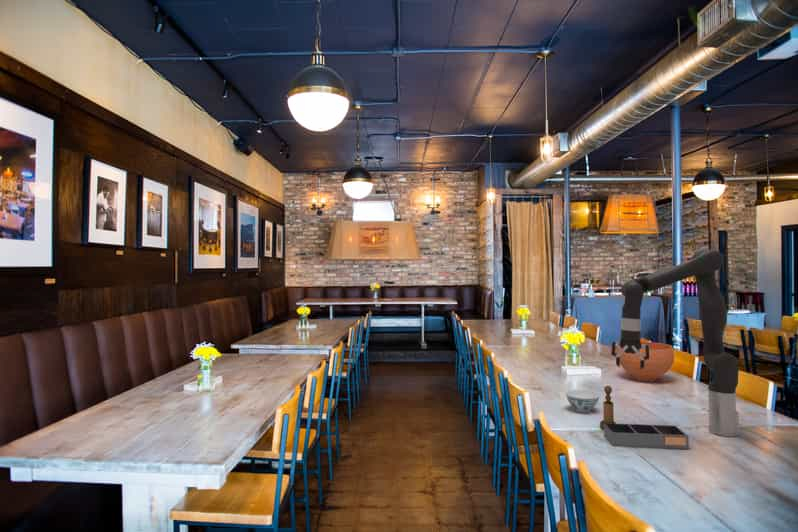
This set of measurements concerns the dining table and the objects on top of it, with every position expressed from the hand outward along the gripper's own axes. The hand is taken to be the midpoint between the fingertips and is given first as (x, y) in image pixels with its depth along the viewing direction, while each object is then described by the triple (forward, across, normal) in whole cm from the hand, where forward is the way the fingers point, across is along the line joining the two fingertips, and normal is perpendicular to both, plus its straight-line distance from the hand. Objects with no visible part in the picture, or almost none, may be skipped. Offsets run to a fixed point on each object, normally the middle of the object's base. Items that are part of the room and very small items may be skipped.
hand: (629, 367), depth 195 cm
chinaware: (+26, +21, -19) cm, 39 cm away
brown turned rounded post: (+27, +7, +2) cm, 28 cm away
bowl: (+24, 0, -98) cm, 101 cm away
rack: (+26, -7, +12) cm, 29 cm away
